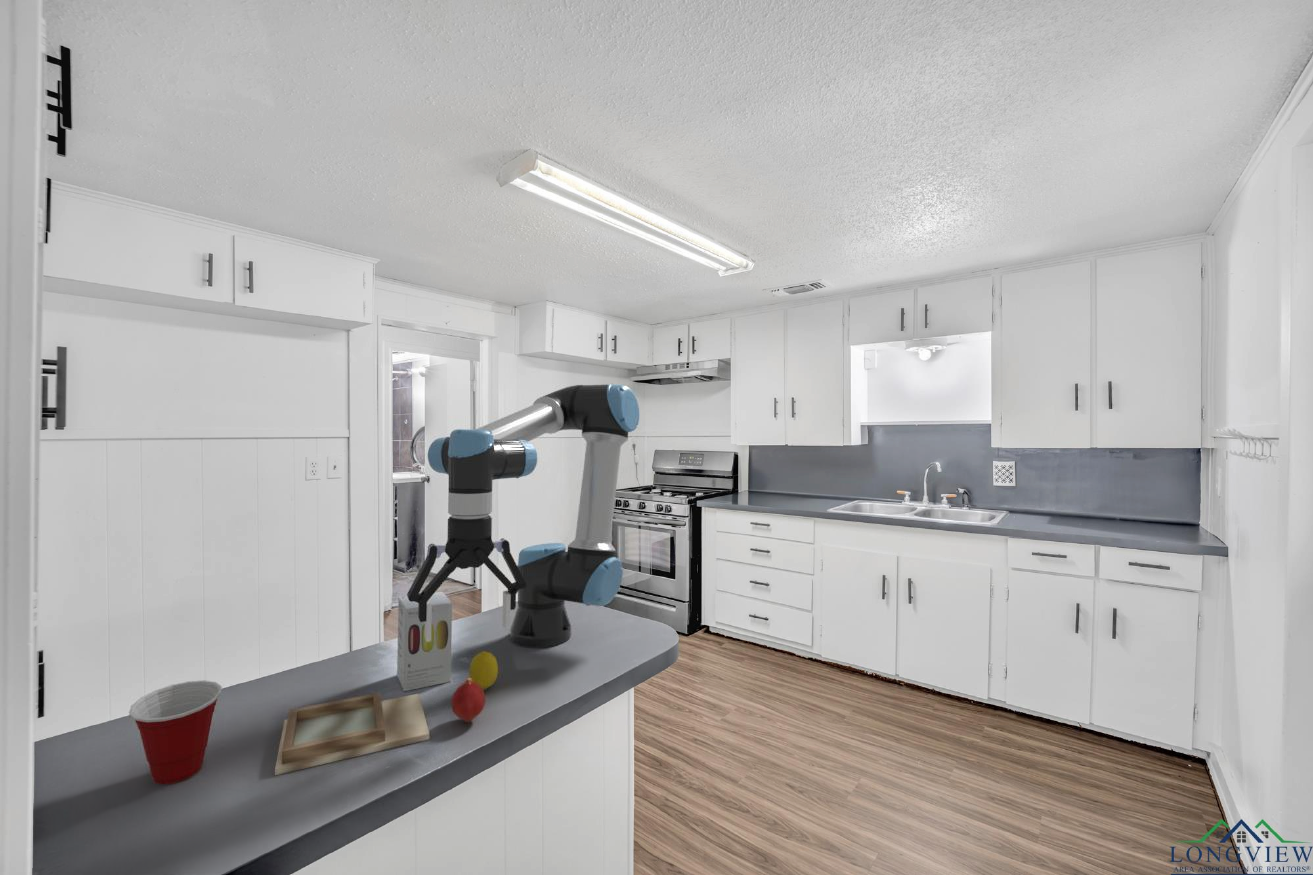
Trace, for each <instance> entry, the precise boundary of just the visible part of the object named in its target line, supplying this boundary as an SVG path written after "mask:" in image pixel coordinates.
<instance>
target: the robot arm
mask: <svg viewBox="0 0 1313 875" xmlns="http://www.w3.org/2000/svg"><path fill="white" fill-rule="evenodd" d="M639 406H640V405H639V401H638V400H637V397H636V395H635V392H634V391H633V390H632V389H631V388H630V387H628V386H627V385H624V384H613V383H610V384H575V385H570V386H566V387H563V388H560V389H558V390H555V391H553V392H550V393H548V394H545V395H543V396H541V397H538V398H537V399H535V401H534V402H533V403H532V405H530V406H528V407H525V408H522V409H521V410H518V411H515V412H513V413H511V414H509V415H507V416H504V417H501V418H500V419H497V420H494V421H492V422H489V423H488V424H486V425H483V426H481V427H478V428H475V429H462V428H461V429H459V428H458V429H453V430H452V431H451V432H450V434H449V436H446V437H438V438H435V440H434V441H433V442H431V444H430V445H429V446H428V447H429V448H428V450H427V461H428V464H429V466H430V468H431V469H432V470H433V471H435V472H436V473H438V474H446V475H448V489H447V490H448V498H447V500H448V501H447V513H448V514H449V515H450V516H449V517H448V519H447V540H446V543H445V545H440V544H439V545H437V544H435V543H430V544H429V545H428V546H427V554H426V557H425V559H424V561H423V563H422V565H421V567H420V569H419V570H418V572H417V574H416V577H415V578H414V581H413V582H412V584H411V586H410V587H409V589H408V591H407V595H406V596H407V597H408V599H409V601H411V602H413V601H414V602H417V603H418V618H419V620H420V622H425V639H426V642H430V641H431V620H432V603H431V601H430V600H429V599H430V598H431V596H432V595H433V594H434V593H437V592H436V591H438V589H439V588H440V587H441V586H442V585H443V584H444V582H445V581H446V580H447V578H449V576H450V575H451V574H452V573H453V572H454V571H455V570H456V569H457V568H459V569H461V570H463V569H464V570H465V569H469V568H475V569H476V568H480V567H481V566H482V565H484V566H486V567H487V569H488V570H490V572H491V573H492V574H493V576H495V577H496V578H497V579H498V580H499V581H500V582H501V583H502V584H503V586H504V587H505V588H506V590H502V619H501V620H502V627H503V628H504V629H505V630H506V631H508V630H510V631H509V639H510V641H511V642H512V643H513V644H514V645H517V646H520V647H524V648H525V647H526V648H547V647H552V646H557V645H559V644H563V643H565V642H567V641H568V640H569V639H570V638H571V636H572V625H571V621H570V618H569V614H568V612H567V609H566V606H565V605H566V604H565V601H566V602H569V603H570V602H571V603H577V604H583V605H585V606H588V607H589V606H597V607H604V606H607V605H608V604H610V603H611V601H612V600H613V599H614V598H615V596H616V595H617V593H619V589H620V587H621V584H622V579H623V574H624V572H623V570H624V569H623V567H622V566H623V564H622V561H621V560H620V559H619V558H618V557H616V548H615V547H614V545H613V544H612V543H611V538H612V530H613V521H614V520H613V518H614V511H615V505H616V504H615V501H616V493H617V483H618V476H619V475H618V473H619V468H620V467H619V465H620V458H621V457H620V456H621V448H622V445H624V444H625V443H626V442H627V441H628V438H629V433H631V432H634V431H635V430H636V429H637V426H639V423H640V422H639V421H640V408H639ZM564 430H565V431H568V430H573V431H574V430H578V431H581V437H582V438H583V439H584V440H585V442H586V444H585V453H584V454H585V455H584V460H583V461H584V462H583V470H582V479H581V487H580V496H579V504H578V514H577V522H576V529H575V535H574V536H575V537H574V540H572V541H571V542H570V543H569V544H567V547H566V545H565V543H563V542H562V543H561V542H549V543H548V542H546V543H541V544H536V545H530V546H527V547H524V548H522V549H521V550H520V551H519V553H518V558H517V559H518V561H517V563H516V562H515V558H514V557H513V555H512V553H511V548H510V547H511V546H510V545H511V544H510V542H509V541H508V540H507V539H506V538H504V537H503V538H500V540H495V541H493V539H492V530H493V527H492V526H493V521H492V520H493V518H492V517H491V515H490V514H491V513H492V512H493V481H495V480H502V479H503V480H506V479H520V478H521V477H527V476H529V475H530V474H532V473H533V472H534V470H535V469H536V467H537V464H538V452H537V450H536V448H535V446H534V445H533V443H531V441H533V440H535V439H537V438H539V437H541V436H543V435H545V434H551V435H552V434H556V433H558V432H560V431H564ZM494 549H496V551H497V552H499V553H500V554H501V555H502V557H503V560H504V562H505V563H506V565H507V567H508V569H509V571H510V573H511V575H512V577H513V579H514V582H511V580H510V579H509V578H508V577H507V576H506V575H505V574H504V573H503V571H501V569H499V567H497V565H496V564H495V563H494V562H493V560H491V559H490V558H489V557H490V555H491V554H492V552H493V551H494ZM566 550H567V551H566ZM443 553H445V555H447V557H448V559H446V562H444V564H443V566H442V567H441V568H440V570H438V572H437V573H436V575H435V576H433V578H432V579H431V580H430V582H428V584H427V585H426V586H425V587H424V588H423V586H424V584H425V582H426V580H427V579H428V577H429V574H430V572H431V571H432V568H433V567H434V565H435V563H436V560H437V559H439V558H440V557H441V555H442V554H443ZM421 590H422V591H421ZM512 610H514V611H515V610H516V611H515V615H514V618H513V620H512V623H511V611H512Z"/></svg>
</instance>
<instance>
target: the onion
mask: <svg viewBox="0 0 1313 875" xmlns="http://www.w3.org/2000/svg"><path fill="white" fill-rule="evenodd" d="M485 705H486V695H485V690H483V689H482V688H481V687H480V686H479V685H478V684H477V683H475V682H473V681H472V679H471V678H470V677H469V678H467V679H466V680H465V682H464V683H462V684H461V685H459V686H458V687H457V689H455V692H454V693H453V695H452V698H451V708H452V712H453V713H454V715H455V716H456V717H458V718H459V719H461V720H463V721H464V722H466V723H471V722H472V721H474V719H475V718H476V717H477V716H478V715H480V714H481V713H482V711H483V709H484V708H485Z"/></svg>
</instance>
